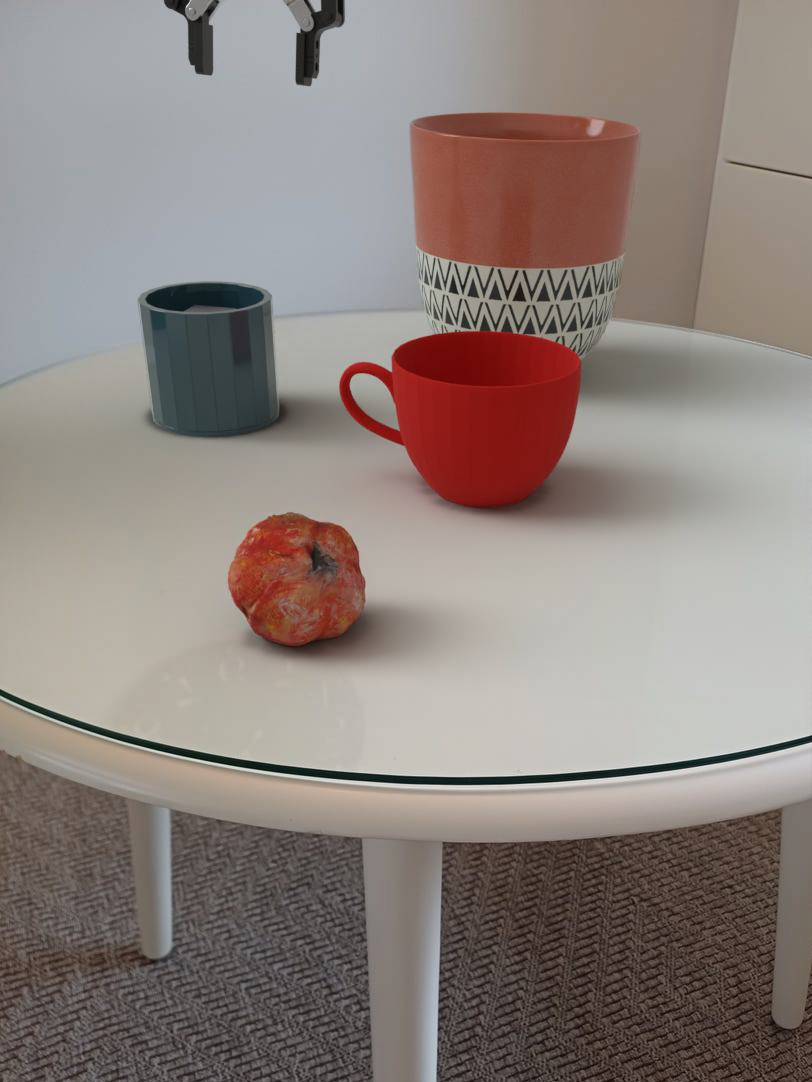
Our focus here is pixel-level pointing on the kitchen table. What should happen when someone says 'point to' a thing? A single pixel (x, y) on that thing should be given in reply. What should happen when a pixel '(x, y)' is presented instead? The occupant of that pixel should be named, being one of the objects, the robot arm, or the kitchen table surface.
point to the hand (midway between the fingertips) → (253, 80)
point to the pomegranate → (297, 579)
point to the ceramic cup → (478, 411)
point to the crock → (210, 358)
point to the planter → (522, 222)
